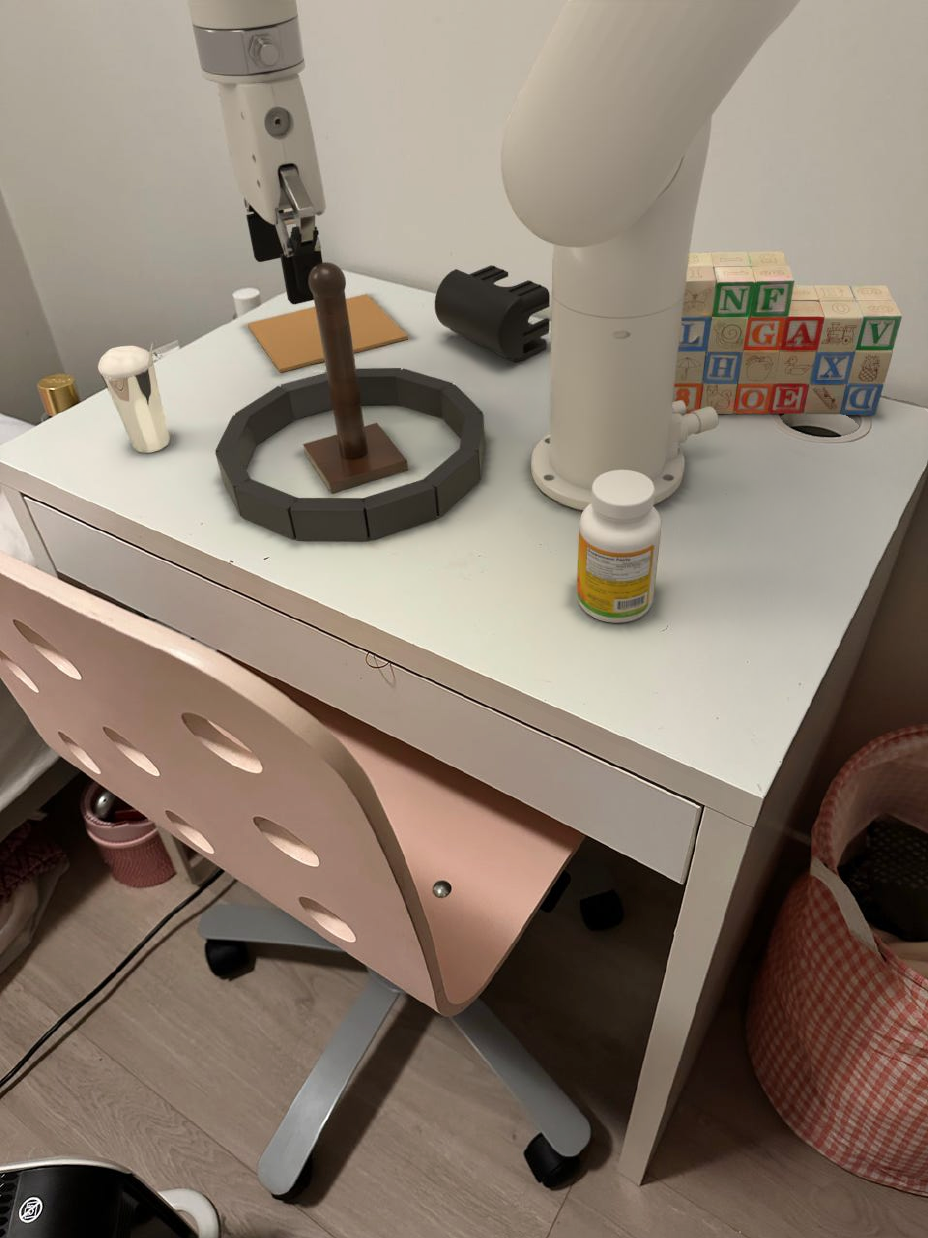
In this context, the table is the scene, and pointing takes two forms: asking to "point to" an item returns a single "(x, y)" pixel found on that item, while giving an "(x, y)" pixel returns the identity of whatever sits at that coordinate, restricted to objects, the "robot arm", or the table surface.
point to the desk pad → (299, 336)
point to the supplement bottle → (618, 547)
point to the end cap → (494, 311)
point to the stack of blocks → (780, 339)
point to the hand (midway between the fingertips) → (289, 277)
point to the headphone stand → (345, 397)
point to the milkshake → (136, 395)
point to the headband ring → (352, 514)
